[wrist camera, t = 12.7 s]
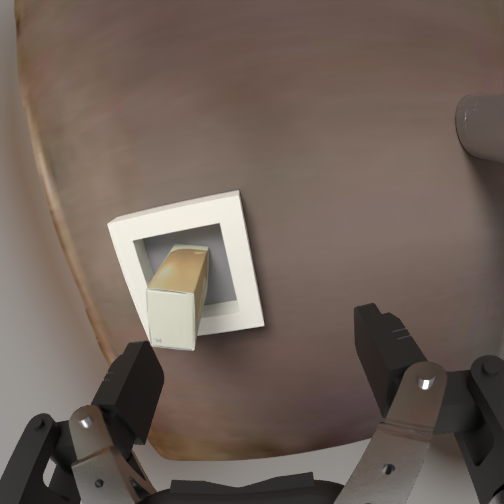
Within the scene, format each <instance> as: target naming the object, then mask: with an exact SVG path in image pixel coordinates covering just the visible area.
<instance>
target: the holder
mask: <svg viewBox="0 0 504 504" xmlns="http://www.w3.org/2000/svg"><path fill="white" fill-rule="evenodd" d="M108 228H109V231H110V234H111V238H112V241H113V244H114V247H115V250H116V253H117V256H118V259H119V262H120V265H121V268H122V271H123V274H124V277H125V280H126V283H127V285H128V288H129V291H130V293H131V296H132V299H133V301H134V304H135V307H136V309H137V312H138V314H139V317H140V319H141V322H142V324H143V327H144V329H145V331H146V334H147V336H148V338H149V341H150V336H149V326H148V318H147V304H146V288H147V286H148V285H149V283H150V282H151V280H152V279H153V277H154V276H155V274H156V272H157V271H158V269H159V268H160V266H161V265H162V263H163V261H164V260H165V258H166V257H167V255H168V254H169V252H170V251H171V249H172V248H173V246H174V245H175V244H186V245H197V246H207V247H209V272H208V288H207V294H206V298H205V302H204V307H203V311H202V316H201V320H200V324H199V329H198V334H197V336H200V335H207V334H215V333H222V332H228V331H235V330H242V329H248V328H254V327H260V326H264V318H263V310H262V305H261V300H260V294H259V289H258V284H257V279H256V274H255V269H254V264H253V258H252V253H251V248H250V243H249V238H248V233H247V227H246V222H245V217H244V212H243V207H242V202H241V196H240V191H239V190H234V191H229V192H224V193H219V194H214V195H209V196H204V197H199V198H194V199H190V200H185V201H180V202H176V203H171V204H167V205H162V206H158V207H154V208H150V209H145V210H141V211H137V212H133V213H129V214H125V215H121V216H118V217H117V218H115V219H114V220H112V221H111V222H110V223H108Z"/></svg>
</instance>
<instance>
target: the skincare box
mask: <svg viewBox="0 0 504 504" xmlns="http://www.w3.org/2000/svg"><path fill="white" fill-rule="evenodd" d="M208 272H209V247H207V246H197V245H186V244H175V245H174V246H173V248H172V249H171V251H170V252H169V254H168V255H167V257H166V258H165V260H164V261H163V263H162V265H161V266H160V268H159V269H158V271H157V272H156V274H155V276H154V277H153V279H152V280H151V282H150V283H149V285H148V286H147V288H146V304H147V318H148V326H149V336H150V344H151V346H155V347H163V348H171V349H179V350H194V349H195V343H196V339H197V334H198V329H199V324H200V320H201V316H202V311H203V307H204V302H205V298H206V294H207V288H208Z"/></svg>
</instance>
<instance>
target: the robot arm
mask: <svg viewBox="0 0 504 504" xmlns="http://www.w3.org/2000/svg"><path fill="white" fill-rule="evenodd" d="M456 128H457V133H458V136H459V139H460V141H461V143H462V145H463V147H464V148H465V150H466V151H467V152H468V153H469V154H471V155H472V156H474V157H477V158H482V159H487V160H492V161H496V162H500V163H504V93H500V94H477V95H469V96H466V97H465V98H463V99H462V101H461V102H460V104H459V106H458V108H457V112H456ZM354 330H355V346H356V351H357V354H358V357H359V359H360V361H361V364H362V366H363V369H364V371H365V374H366V376H367V379H368V381H369V384H370V386H371V389H372V391H373V394H374V396H375V399H376V401H377V404H378V407H379V409H380V412H381V414H382V417H383V418H385V417H386V418H385V420H384V422H381V423H380V424H379V426H378V427H377V429H376V431H375V433H374V435H373V437H372V439H371V441H370V443H369V445H368V447H367V448H366V450H365V452H364V454H363V456H362V458H361V460H360V461H359V463H358V465H357V466H356V468H355V470H354V472H353V473H352V475H351V477H350V478H349V480H348V482H347V483H346V485H345V486H344V485H341V484H338V483H334V482H330V481H323V480H314V479H313V472H309V473H302V474H295V475H289V476H280V477H275V478H271V479H268V480H265V481H262V482H258V483H255V484H251V485H248V486H244V487H239V488H237V487H231V486H225V485H220V484H215V483H211V482H206V481H185V480H172V482H171V487H170V489H166V490H162V491H159V492H157V491H156V490H155V488H154V487H153V486H152V484H151V482H150V481H149V479H148V477H147V475H146V474H145V472H144V470H143V468H142V466H141V464H140V463H139V461H138V459H137V457H136V455H135V453H134V452H133V450H132V447H133V444H139V445H145V443H146V439H147V436H148V433H149V429H150V426H151V423H152V419H153V416H154V413H155V409H156V406H157V403H158V400H159V397H160V393H161V390H162V387H163V384H164V373H163V369H162V367H161V365H160V363H159V361H158V359H157V357H156V355H155V353H154V351H153V349H152V346H151V344H150V343H149V342H148V341H138V342H130V343H129V344H128V345H127V347H126V349H125V351H124V353H123V355H120V356H119V357H118V358H117V359H116V360H115V361H114V362H113V363H112V364H111V366H110V368H109V370H108V374H106V376H105V378H104V381H102V383H101V385H100V387H99V389H98V391H97V393H96V395H95V397H94V399H93V401H92V403H91V405H85V406H82V407H80V408H78V409H77V410H75V411H74V412H73V414H72V415H71V417H70V419H69V420H67V421H62V422H55V421H54V420H53V418H52V417H51V416H50V415H49V414H46V413H42V414H39V415H36V416H35V417H33V418H32V419H31V420H30V421H29V423H28V424H27V426H26V428H25V430H24V432H23V434H22V436H21V438H20V440H19V441H18V444H17V445H16V448H15V450H14V452H13V454H12V456H11V458H10V460H9V462H8V464H7V466H6V469H5V471H4V473H3V475H2V477H1V480H0V504H80V501H81V500H82V503H83V504H405V503H406V501H407V499H408V497H409V495H410V493H411V490H412V488H413V486H414V484H415V481H416V479H417V477H418V474H419V472H420V469H421V467H422V464H423V462H424V459H425V456H426V454H427V451H428V448H429V445H430V442H431V439H432V436H433V435H434V434H445V433H454V436H455V438H456V440H457V443H458V445H459V448H460V450H461V453H462V455H463V458H464V460H465V463H466V466H467V468H468V471H469V474H470V476H471V479H472V482H473V484H474V488H475V490H476V493H477V496H478V499H479V502H480V504H504V361H503V360H502V359H501V358H499V357H496V356H491V355H486V356H482V357H479V358H478V359H476V360H475V361H474V362H473V364H472V366H471V369H470V370H465V371H455V372H446V371H445V369H444V368H443V367H441V366H440V365H438V364H436V363H434V362H428V361H427V359H426V358H425V356H424V354H423V353H422V351H421V350H420V348H419V347H418V345H417V344H416V342H415V341H414V339H413V338H412V336H410V333H409V332H408V330H407V329H405V326H404V325H403V323H402V322H401V320H400V319H399V318H397V317H396V316H394V315H393V314H391V313H385V314H381V313H380V311H379V309H378V308H377V306H376V305H375V304H374V303H370V304H366V305H362V306H358V307H355V308H354ZM49 458H50V459H51V460H52V461H53V462H54V463H55V464H56V468H55V471H54V473H53V476H52V479H51V481H50V484H49V487H47V486H46V485H45V484H44V482H43V473H44V470H45V468H46V465H47V463H48V461H49Z"/></svg>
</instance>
